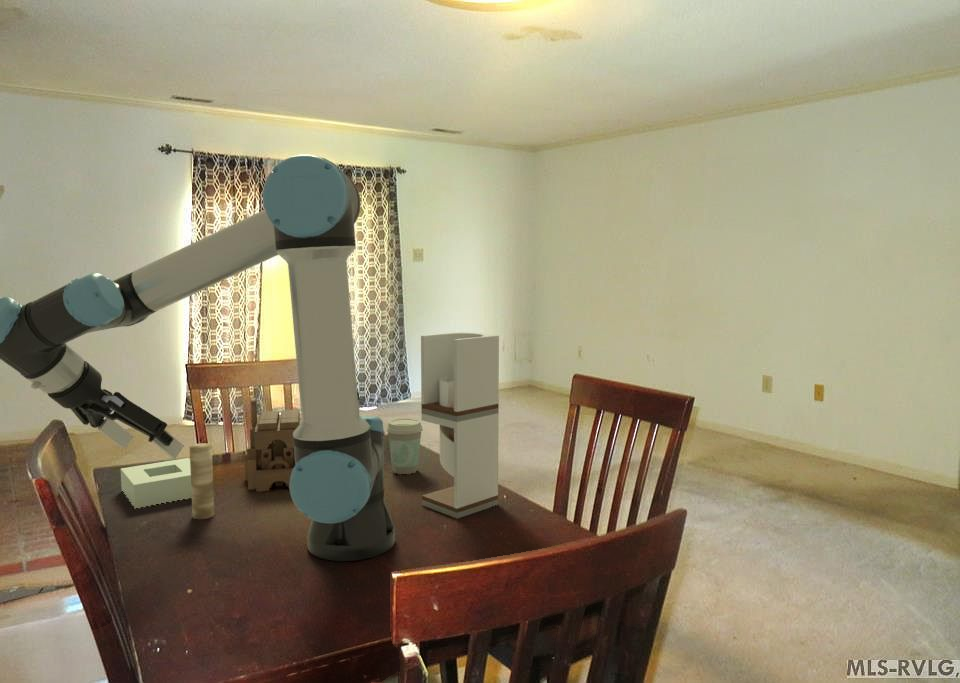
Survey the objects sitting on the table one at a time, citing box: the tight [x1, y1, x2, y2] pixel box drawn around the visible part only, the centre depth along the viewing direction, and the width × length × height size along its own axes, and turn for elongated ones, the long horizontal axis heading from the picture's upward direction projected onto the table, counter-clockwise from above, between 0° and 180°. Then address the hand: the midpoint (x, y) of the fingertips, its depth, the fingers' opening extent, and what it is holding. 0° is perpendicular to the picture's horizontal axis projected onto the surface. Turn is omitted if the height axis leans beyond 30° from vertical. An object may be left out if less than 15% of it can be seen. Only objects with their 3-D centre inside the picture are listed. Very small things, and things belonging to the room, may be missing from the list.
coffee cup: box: [386, 418, 423, 475], centre depth 166 cm, size 9×8×12 cm
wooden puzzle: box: [244, 397, 302, 492], centre depth 162 cm, size 22×15×19 cm, turn 14°
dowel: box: [189, 442, 215, 520], centre depth 136 cm, size 4×4×14 cm
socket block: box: [120, 457, 192, 510], centre depth 150 cm, size 14×14×5 cm
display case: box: [420, 331, 500, 519], centre depth 141 cm, size 11×11×35 cm
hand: (152, 447), depth 126 cm, fingers open, 13 cm apart
